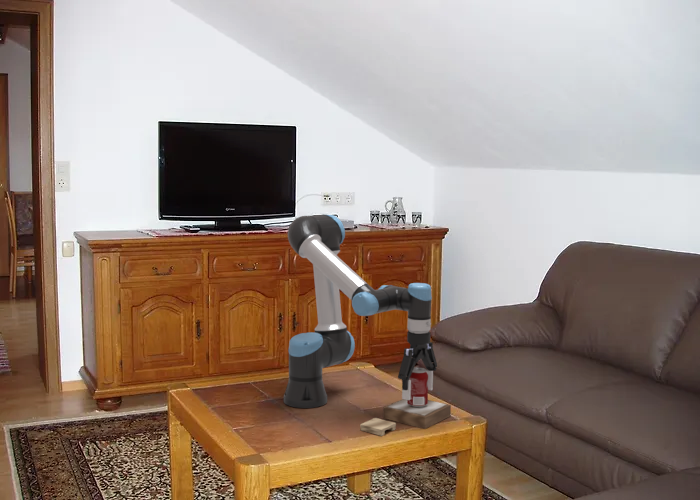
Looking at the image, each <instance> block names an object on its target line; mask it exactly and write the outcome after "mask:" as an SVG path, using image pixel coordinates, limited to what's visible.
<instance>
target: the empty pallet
mask: <svg viewBox="0 0 700 500" xmlns="http://www.w3.org/2000/svg"><path fill="white" fill-rule="evenodd" d="M359 426H360V431H362V432H366V433H369V434H374V435H376V436H380V437H383V436H385V434H386V433H385V432H386V431H387V430H389V431H392V432H394V431H395V430H396V426H397V423H396V422H395V421H391V420H387V419H383V418H382V419H381V418H378V417H373V418H371V419H370V420H369V419H368V420H366V421H365V422H362V423H360V424H359Z"/></svg>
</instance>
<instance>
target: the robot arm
mask: <svg viewBox="0 0 700 500" xmlns="http://www.w3.org/2000/svg"><path fill="white" fill-rule="evenodd" d="M345 237H346V229H345V227H344V224H343V222H342V221H341V219H339V218H338V217H337V216H336V215H333V214H324V213H322V214H315V215H312V214H311V215H302V216H298V217H296V218H295V219H294V220H293V221H292V222H291V223H290V224H289V227H288V228H287V239H288V243H289V245H290V247H291V248H292V250H294V252H295V253H296V254H297V255H299V257H301V258H303V259H307V260H308V261H309V262H310V263H311V264H312V267H313V279H314V290H315V301H316V311H317V312H316V313H317V325H316V326H315V328H314V332H311V331H310V332H302V333H298V334H296V335H294V336H292V337H291V339H289V341H288V342H289V343H288V382H287V384H286V387H285V391H284V394H283V403H284V404H285V405H287V406H289V407H293V408H298V409H311V408H318V407H321V406H324V405H326V404H327V403H328V394H327V392H326V388H325V384H324V381H323V369H325V368H328V367H333V366H335V365H340V364H342V363H344V362H347V361H349V359H351V358H352V356H353V355H354V352H355V348H356V346H355V345H356V344H355V339H354V338H355V337H354V336H353V335H352V333H351V332H350V331H349V330H348V327H347V325H346V324H345V323H344V322H343V319H342V308H341V295H340V291H341V292H342V293H343V294H344V295H346V297H347V298H348V299H349V300H350V301H351V306H352V308H353V312H354V313H355V314H356V315H358V316H361V317H367V316H373V315H376V314H379V313H384V312H385V313H386V312H389V311H394V310H397V311H404V312H407V327H406V328H407V330H408V331H407V336H406V337H407V338H406V341H407V343H408V344H409V345H410V346H409V348H405V347H404V349H403V356H402V360H401V364H400V368H399V371H398V374H397V378H398V379H399V380H401V381H402V382H401V386H402V387H401V388H402V389H401V390H402V391H401V399H406V400H410V395H411V380H409V379H410V376H411V374H412V371H413V369H414V368H416V367H415V366H416V364H417V363H418V362H419V361H420V360H421V362H422V364H424V366H425V369H426V372H427V374H428V391H433V385H434V371H435V372H436V371H437V368H438V362H437V360H436V359H437V358H436V355H435V351H434V345H433V344H434V343H433V342H431V325H432V321H431V319H432V315H431V313H432V301H433V300H432V299H433V295H432V286H431V285H430V284H428V283H424V282H413V283H410V284H408V288H406V287H403V286H402V287H401V286H396V285H392V284H389V285H384V284H383V285H381V286H380V287H379V288H378V289H374V288H373V287H372V286H370V285H369V283H367V282H366V281H365V280H364V279H363V278H362V277H361V276H359V274H357V272H355V271H354V270H353V269H352V268H351V267H350V266H349V265H348V264H346V262H344V260H342V259H341V257H339V256H338V254H339V253H340V252H341V247H340V245H341V244H343V242H344V240H345Z"/></svg>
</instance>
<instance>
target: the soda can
mask: <svg viewBox="0 0 700 500" xmlns="http://www.w3.org/2000/svg"><path fill="white" fill-rule="evenodd" d="M426 370H427V369H426V368H424V367H414V369H413V371H412V374H411V376H410V379H409V380H411V395H410V400H407V404H408V405H410V406H411V407H416V408H421V407H424V406H426V405H427V404H428V400H429V390H428V374H427V372H426Z"/></svg>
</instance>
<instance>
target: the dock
mask: <svg viewBox="0 0 700 500" xmlns="http://www.w3.org/2000/svg"><path fill="white" fill-rule="evenodd" d="M451 407H452V406H451V404H447V403H443V402H439V401H434V400H430V399H428V404H427V405H426V406H424V407H421V408H416V407H411V406H410V405H408V404H407V400H406V399H402V398H401V399H399V400H397V401H395V402H393V403H390V404H387V405H386V406H384V407H383V408H382V409H383V413H382V415H383V416H382V417H383V418H382V419H383V420H387V421H391V422H395V423H396V422H397V423H401V424H404V425H408V426H412V427H415V428H421V429H424V430H426V429H428V428H430V427H432V426H433V425H436V424H437V423H439V422H441V421H443V420H445V419H448V418H450V417H451V414H452V413H451V411H452V410H451Z"/></svg>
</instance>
